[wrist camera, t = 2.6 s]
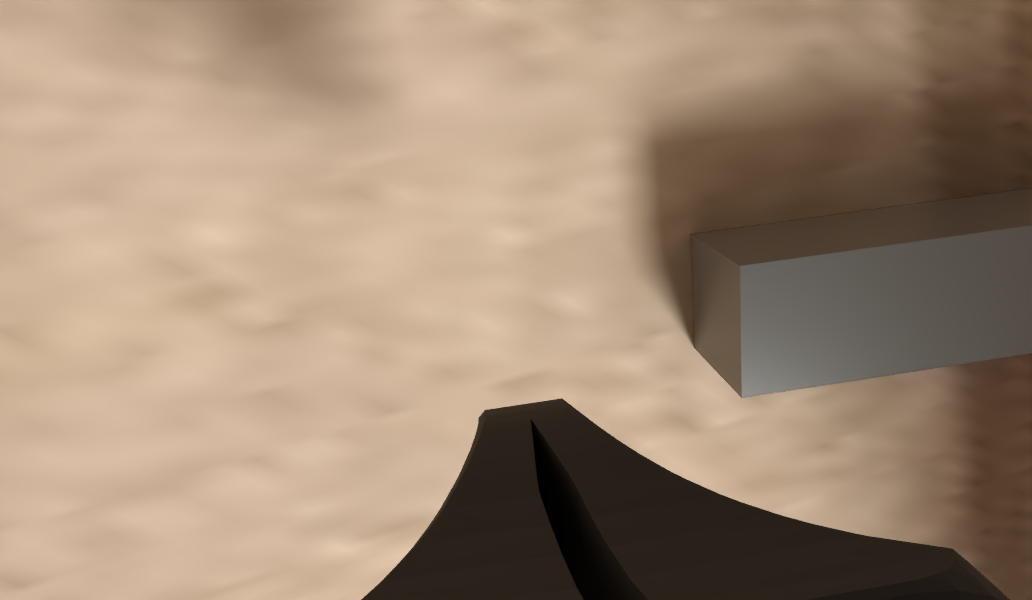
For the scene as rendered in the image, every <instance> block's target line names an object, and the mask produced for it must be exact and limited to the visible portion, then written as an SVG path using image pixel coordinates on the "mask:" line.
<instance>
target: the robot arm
mask: <svg viewBox="0 0 1032 600" xmlns="http://www.w3.org/2000/svg"><path fill="white" fill-rule="evenodd" d="M362 600H1010V599H1008V598H1007V597H1006V596H1005V595H1004V594H1003V593H1002V592H1001V591H1000V590H999V589H998V588H996V587H995V586H994V585H993V584H992V583H991V582H990V581H989V580H988V579H987V578H985V577H984V576H983V575H982V574H981V573H980V572H979V571H978V570H977V569H975V568H974V567H973V566H972V565H971V564H970V563H969V562H968V561H967V560H965V559H964V558H963V557H962V556H960V555H959V554H958V553H957V552H956V551H954V550H953V549H950V548H944V547H937V546H930V545H924V544H917V543H910V542H903V541H897V540H890V539H883V538H877V537H870V536H864V535H859V534H854V533H850V532H845V531H841V530H837V529H832V528H828V527H823V526H819V525H814V524H810V523H807V522H803V521H799V520H796V519H792V518H788V517H785V516H781V515H778V514H775V513H772V512H769V511H766V510H763V509H760V508H757V507H754V506H751V505H748V504H744V503H741V502H739V501H736V500H733V499H731V498H728V497H726V496H723V495H720V494H718V493H716V492H713V491H711V490H709V489H707V488H704V487H702V486H700V485H698V484H695V483H693V482H691V481H689V480H686V479H684V478H682V477H680V476H678V475H676V474H674V473H672V472H670V471H668V470H667V469H665V468H663V467H661V466H660V465H658V464H656V463H654V462H653V461H651V460H649V459H647V458H646V457H644V456H642V455H640V454H639V453H637V452H636V451H634V450H632V449H631V448H629V447H628V446H626V445H625V444H623V443H622V442H620V441H619V440H617V439H616V438H614V437H613V436H611V435H610V434H608V433H607V432H606V431H604V430H603V429H601V428H600V427H599V426H597V425H596V424H595V423H593V422H592V421H591V420H589V419H588V418H587V417H585V416H584V415H583V414H581V413H580V412H579V411H578V410H576V409H575V408H574V407H572V406H571V405H570V404H568V403H567V402H566V401H564V400H563V399H556V400H549V401H543V402H536V403H529V404H523V405H516V406H510V407H503V408H497V409H490V410H485V411H484V412H483V413H482V415H481V416H480V417H479V423H478V428H477V432H476V435H475V439H474V441H473V444H472V447H471V450H470V452H469V454H468V457H467V459H466V461H465V463H464V466H463V468H462V470H461V472H460V474H459V476H458V478H457V480H456V482H455V484H454V486H453V488H452V489H451V491H450V493H449V495H448V496H447V498H446V500H445V502H444V503H443V505H442V507H441V509H440V510H439V512H438V513H437V515H436V516H435V518H434V519H433V521H432V522H431V524H430V525H429V527H428V528H427V529H426V531H425V532H424V533H423V535H422V536H421V537H420V539H419V540H418V541H417V543H416V544H415V545H414V547H413V548H412V549H411V550H410V551H409V552H408V554H407V555H406V556H405V557H404V558H403V559H402V560H401V561H400V563H399V564H398V565H397V566H396V567H395V568H394V569H393V570H392V571H391V572H390V573H389V574H388V575H387V576H386V577H385V578H384V579H383V580H382V581H381V582H380V583H379V584H378V585H377V586H376V587H375V588H374V589H373V590H372V591H370V592H369V593H368V594H367V595H366V596H365V597H364V598H363V599H362Z"/></svg>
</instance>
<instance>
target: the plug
mask: <svg viewBox="0 0 1032 600" xmlns="http://www.w3.org/2000/svg"><path fill="white" fill-rule="evenodd" d="M690 237H691V266H692V296H693V326H694V348H695V349H696V350H697V351H698V352H699V353H700V354H701V355H702V357H703V358H704V359H705V360H706V361H707V362H708V363H709V364H710V365H711V366H712V367H713V368H714V369H715V370H716V371H717V372H718V373H719V374H720V376H721V377H722V378H723V379H724V380H725V381H726V382H727V383H728V384H729V385H730V386H731V387H732V388H733V389H734V390H735V391H736V392H737V393H738V395H739V396H740V397H741V398H744V397H751V396H757V395H764V394H771V393H777V392H784V391H790V390H797V389H803V388H810V387H816V386H823V385H829V384H836V383H842V382H849V381H855V380H862V379H868V378H875V377H881V376H888V375H894V374H901V373H907V372H914V371H920V370H927V369H933V368H940V367H946V366H953V365H959V364H966V363H972V362H979V361H985V360H992V359H999V358H1005V357H1012V356H1018V355H1025V354H1031V353H1032V188H1028V189H1021V190H1014V191H1006V192H999V193H991V194H984V195H976V196H969V197H962V198H954V199H947V200H939V201H932V202H925V203H917V204H910V205H902V206H895V207H888V208H880V209H873V210H865V211H858V212H851V213H843V214H836V215H828V216H821V217H814V218H806V219H799V220H791V221H784V222H777V223H769V224H762V225H754V226H747V227H740V228H732V229H725V230H717V231H710V232H703V233H695V234H690Z"/></svg>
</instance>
